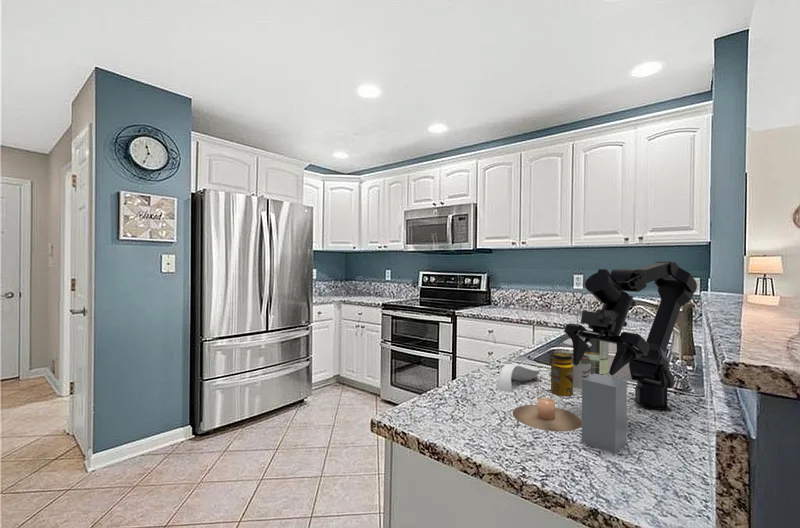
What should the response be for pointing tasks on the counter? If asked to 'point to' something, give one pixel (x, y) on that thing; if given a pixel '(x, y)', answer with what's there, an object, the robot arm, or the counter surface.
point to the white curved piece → (515, 375)
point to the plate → (559, 424)
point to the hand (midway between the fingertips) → (592, 369)
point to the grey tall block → (604, 412)
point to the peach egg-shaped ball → (546, 409)
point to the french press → (579, 365)
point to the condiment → (561, 374)
